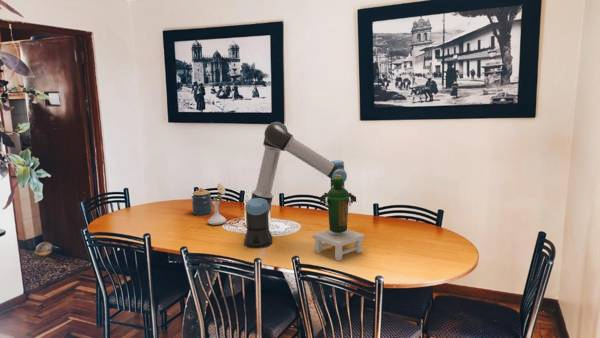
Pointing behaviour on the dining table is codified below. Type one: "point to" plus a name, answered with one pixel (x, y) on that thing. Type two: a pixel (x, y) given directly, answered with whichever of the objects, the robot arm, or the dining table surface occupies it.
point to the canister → (201, 202)
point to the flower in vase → (217, 217)
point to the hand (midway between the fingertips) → (338, 203)
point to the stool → (338, 241)
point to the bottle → (338, 206)
